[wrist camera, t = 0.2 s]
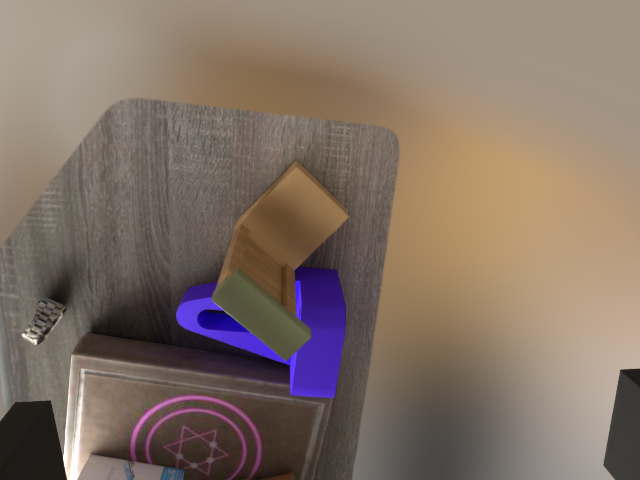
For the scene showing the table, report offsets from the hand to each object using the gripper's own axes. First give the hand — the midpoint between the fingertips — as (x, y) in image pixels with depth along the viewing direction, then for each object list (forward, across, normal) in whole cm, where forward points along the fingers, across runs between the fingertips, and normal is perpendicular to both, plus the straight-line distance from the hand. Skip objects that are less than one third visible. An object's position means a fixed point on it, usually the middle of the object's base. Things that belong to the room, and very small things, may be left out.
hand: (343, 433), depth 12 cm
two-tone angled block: (+49, -1, -8) cm, 49 cm away
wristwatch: (+49, -30, -19) cm, 61 cm away
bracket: (+49, -6, -19) cm, 53 cm away
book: (+49, -14, -36) cm, 62 cm away
